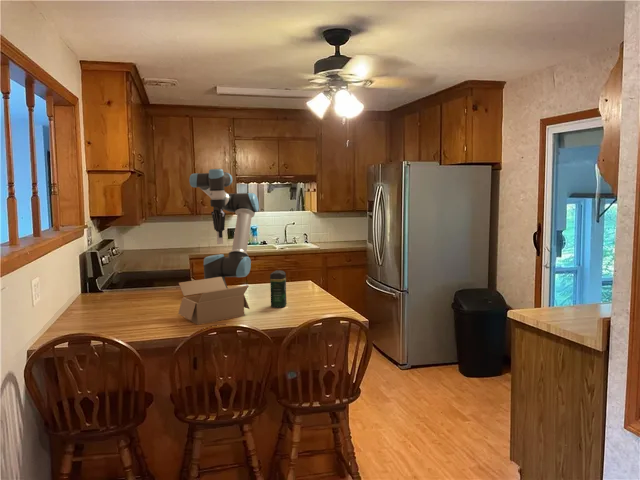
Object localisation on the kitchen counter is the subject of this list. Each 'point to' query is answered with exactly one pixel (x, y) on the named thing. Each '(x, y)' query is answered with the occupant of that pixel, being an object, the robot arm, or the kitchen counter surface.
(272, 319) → the kitchen counter surface
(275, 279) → the coffee jar
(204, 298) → the flap
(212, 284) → the flap
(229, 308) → the carton
